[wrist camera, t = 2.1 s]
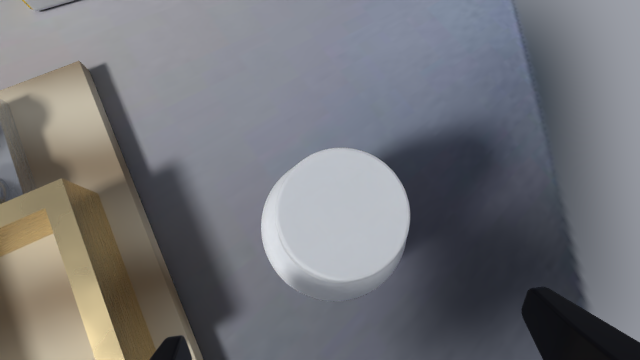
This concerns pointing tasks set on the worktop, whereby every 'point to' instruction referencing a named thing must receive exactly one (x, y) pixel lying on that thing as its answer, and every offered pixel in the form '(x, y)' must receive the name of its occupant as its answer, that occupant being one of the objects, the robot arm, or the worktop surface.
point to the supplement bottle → (336, 224)
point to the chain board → (43, 255)
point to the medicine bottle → (44, 3)
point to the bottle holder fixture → (72, 248)
